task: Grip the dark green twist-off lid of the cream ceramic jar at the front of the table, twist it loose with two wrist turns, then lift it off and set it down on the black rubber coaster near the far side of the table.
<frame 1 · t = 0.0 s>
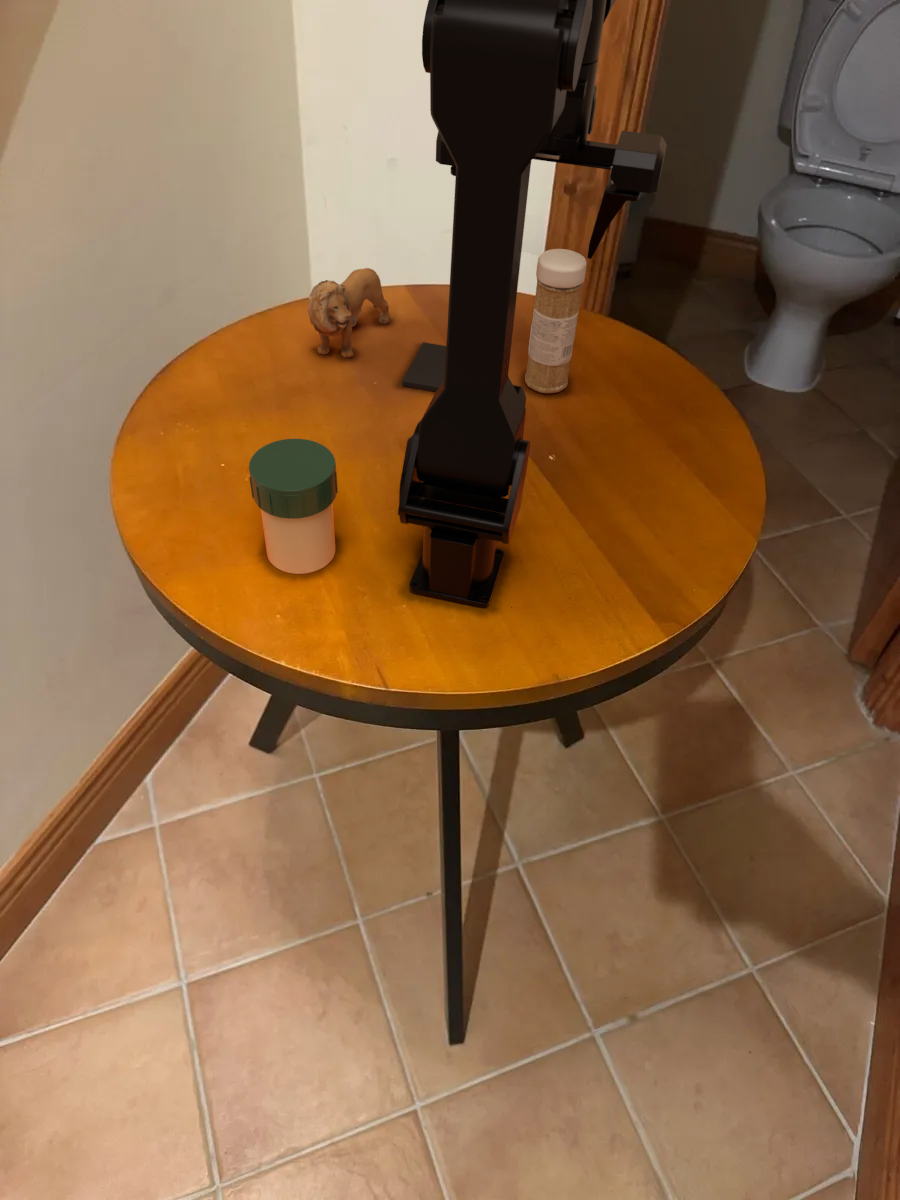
hand: (539, 249, 82), 15 cm above the table, tool pointing down, fingers open, 9 cm apart
lid: (292, 467, 68), point 8 cm above the table, screwed on, not yet turned
lion figurine: (352, 344, 98), on the table
jar: (301, 550, 74), on the table
coaster: (449, 372, 94), on the table
spice bottle: (545, 385, 94), on the table
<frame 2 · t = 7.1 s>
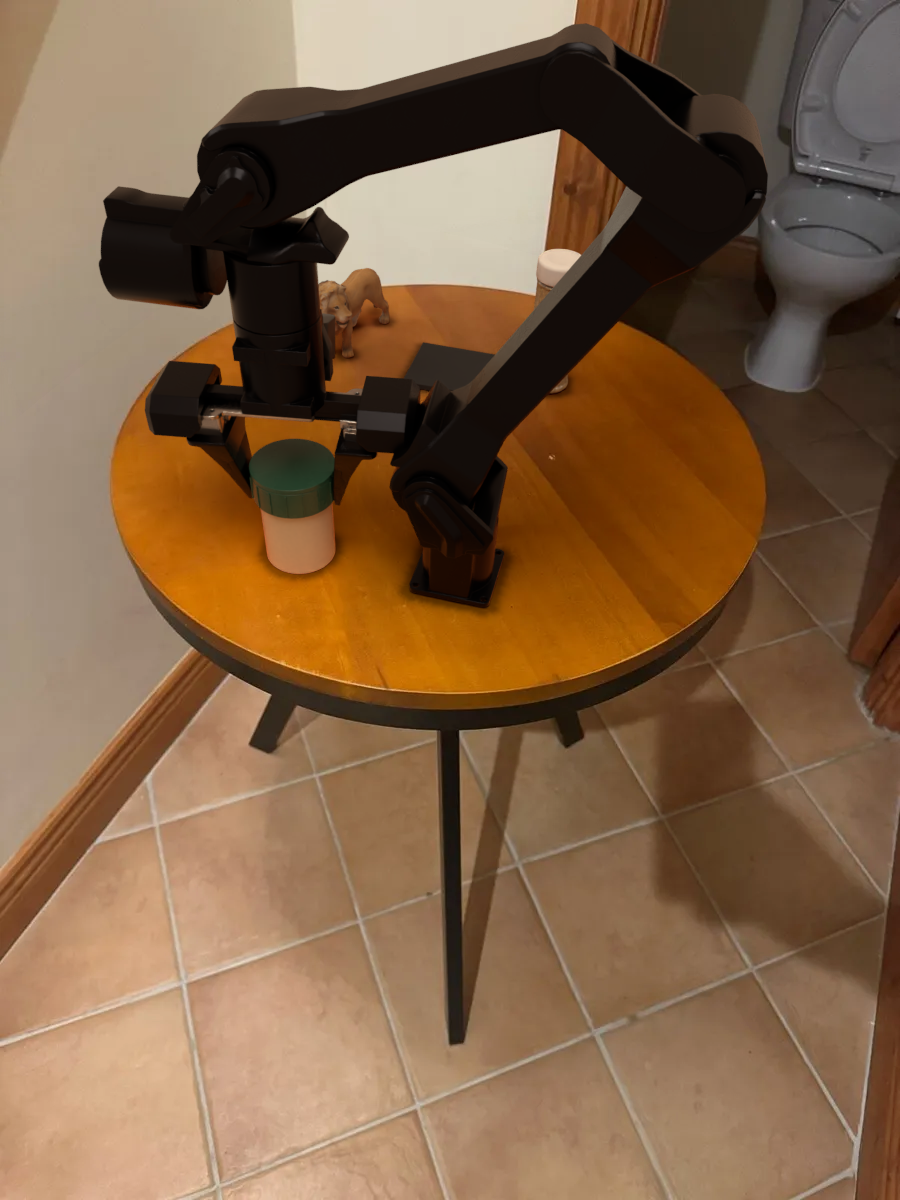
hand: (296, 498, 70), 6 cm above the table, tool pointing down, fingers closed on lid, 6 cm apart
lid: (292, 467, 68), point 8 cm above the table, screwed on, not yet turned, touching gripper
everything else where it was.
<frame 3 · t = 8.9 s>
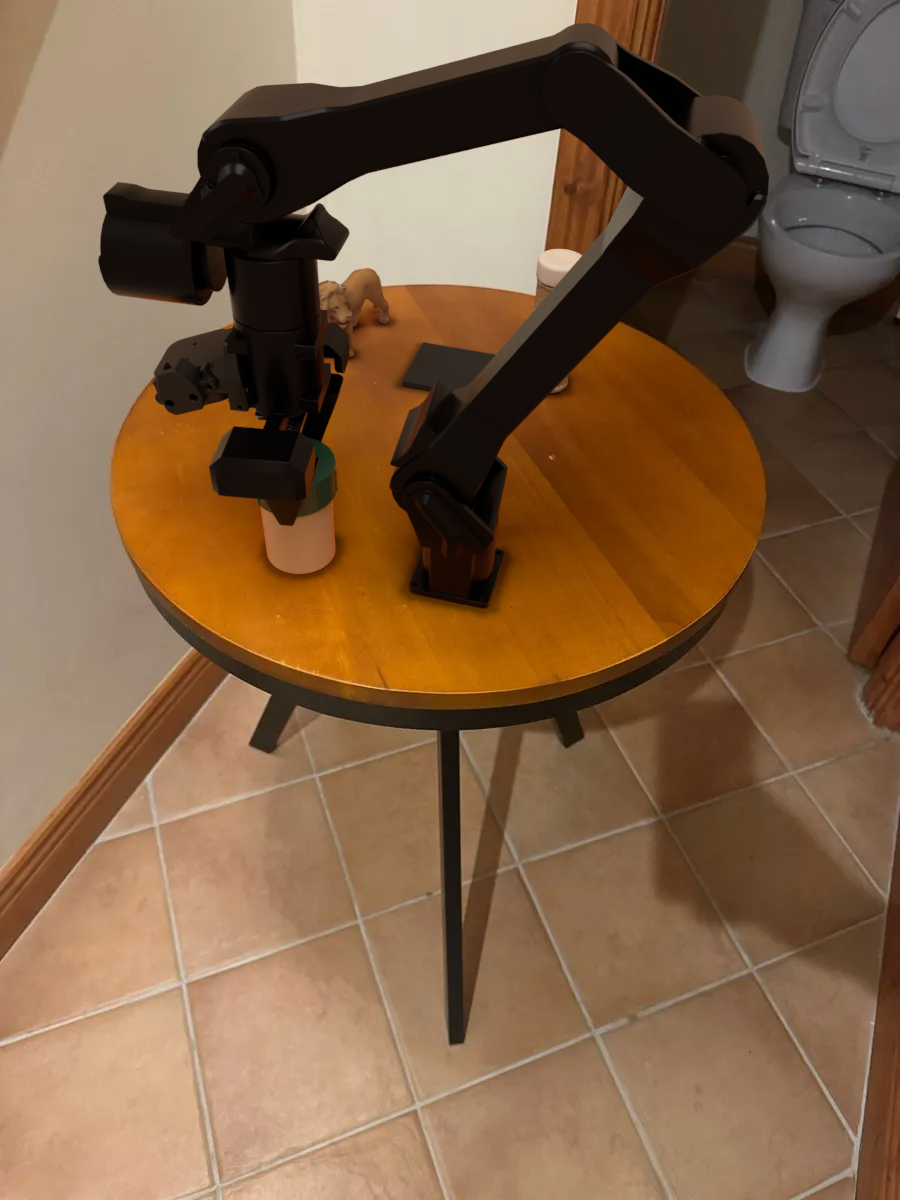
hand: (295, 495, 70), 6 cm above the table, tool pointing down, fingers closed on lid, 6 cm apart
lid: (292, 465, 68), point 9 cm above the table, turned 89° so far, risen 0.2 cm, still on its thread, touching gripper
everything else where it was.
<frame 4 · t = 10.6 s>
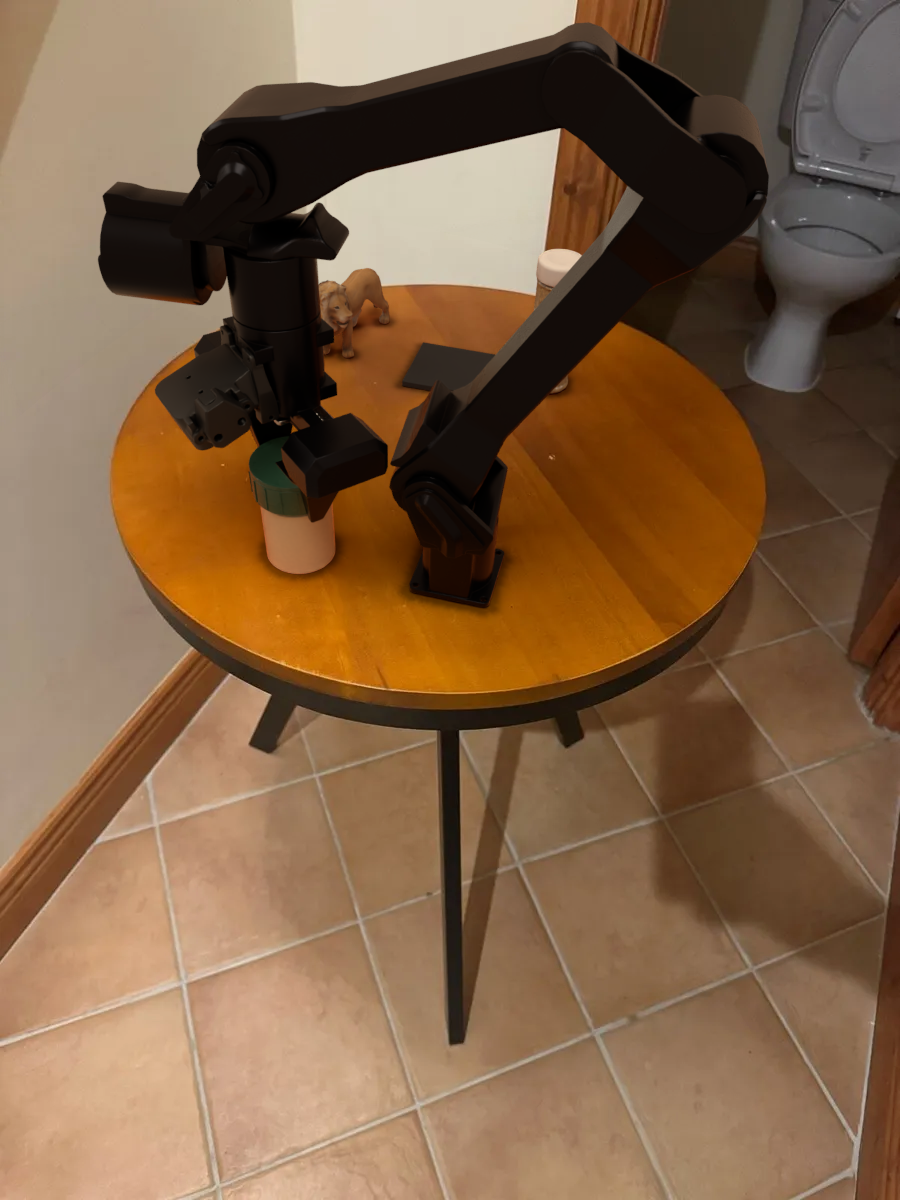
hand: (295, 495, 70), 6 cm above the table, tool pointing down, fingers closed on lid, 6 cm apart
lid: (292, 465, 68), point 9 cm above the table, off its thread, touching gripper
everything else where it was.
when the fingers open (5 cm above the table, at t = 13.8 s): lid stays where it is, resting on jar.
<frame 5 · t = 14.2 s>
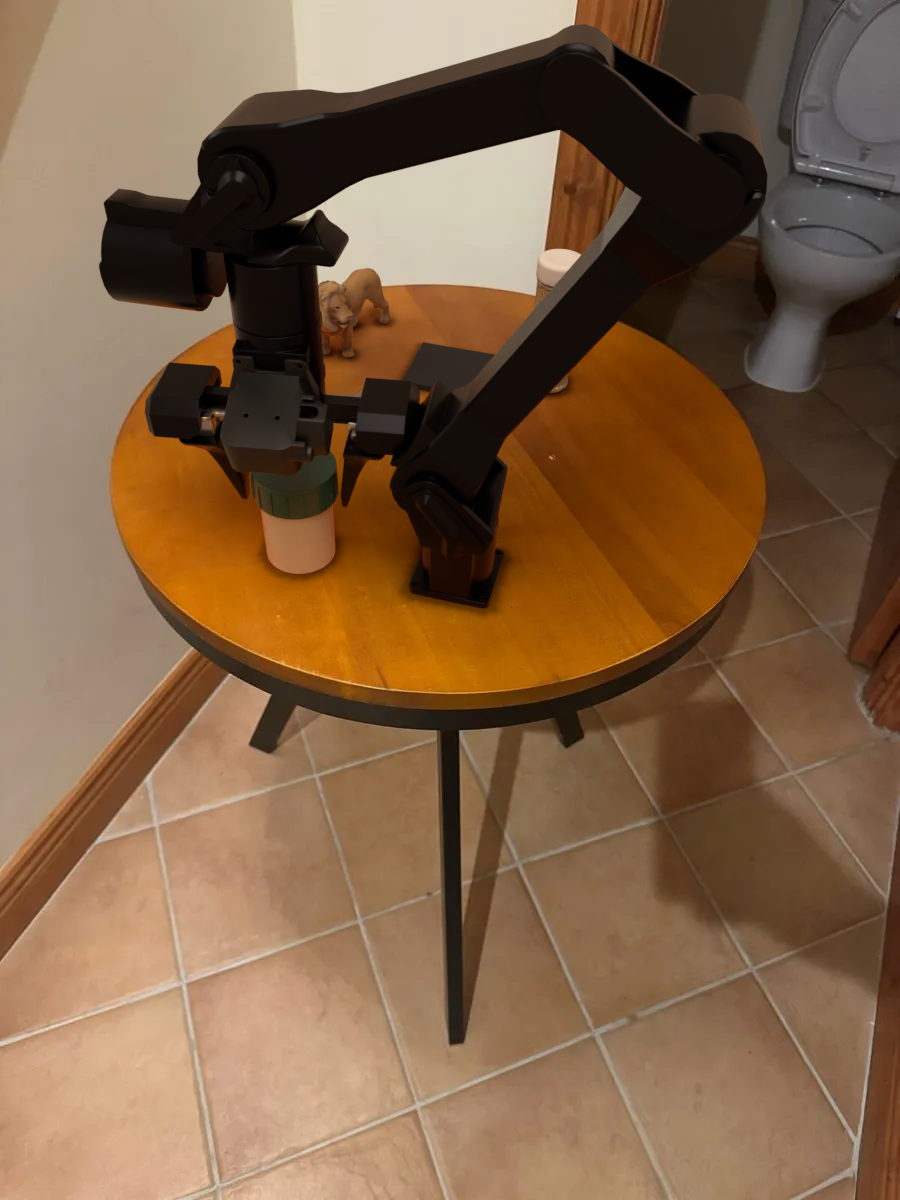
hand: (295, 499, 71), 5 cm above the table, tool pointing down, fingers open, 7 cm apart
lid: (293, 469, 68), point 8 cm above the table, off its thread, touching jar
jar: (301, 550, 74), on the table, touching lid
everything else where it was.
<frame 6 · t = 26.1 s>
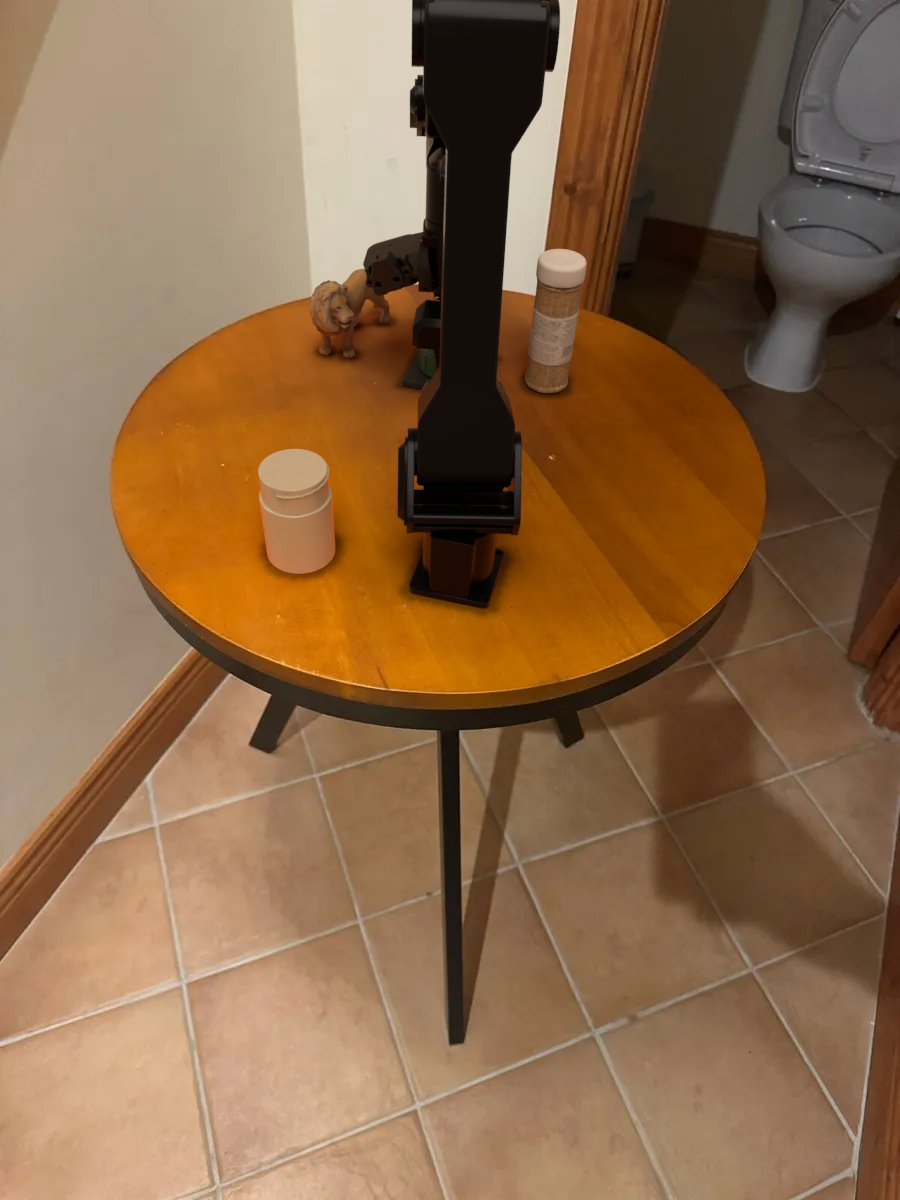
hand: (449, 366, 94), 1 cm above the table, tool pointing down, fingers closed on lid, 6 cm apart
lid: (449, 344, 92), point 3 cm above the table, off its thread, touching gripper
jar: (301, 550, 74), on the table
everything else where it was.
when the fingers open (2 cm above the table, at t = 37.0 s): lid drops 2 cm, resting on coaster.
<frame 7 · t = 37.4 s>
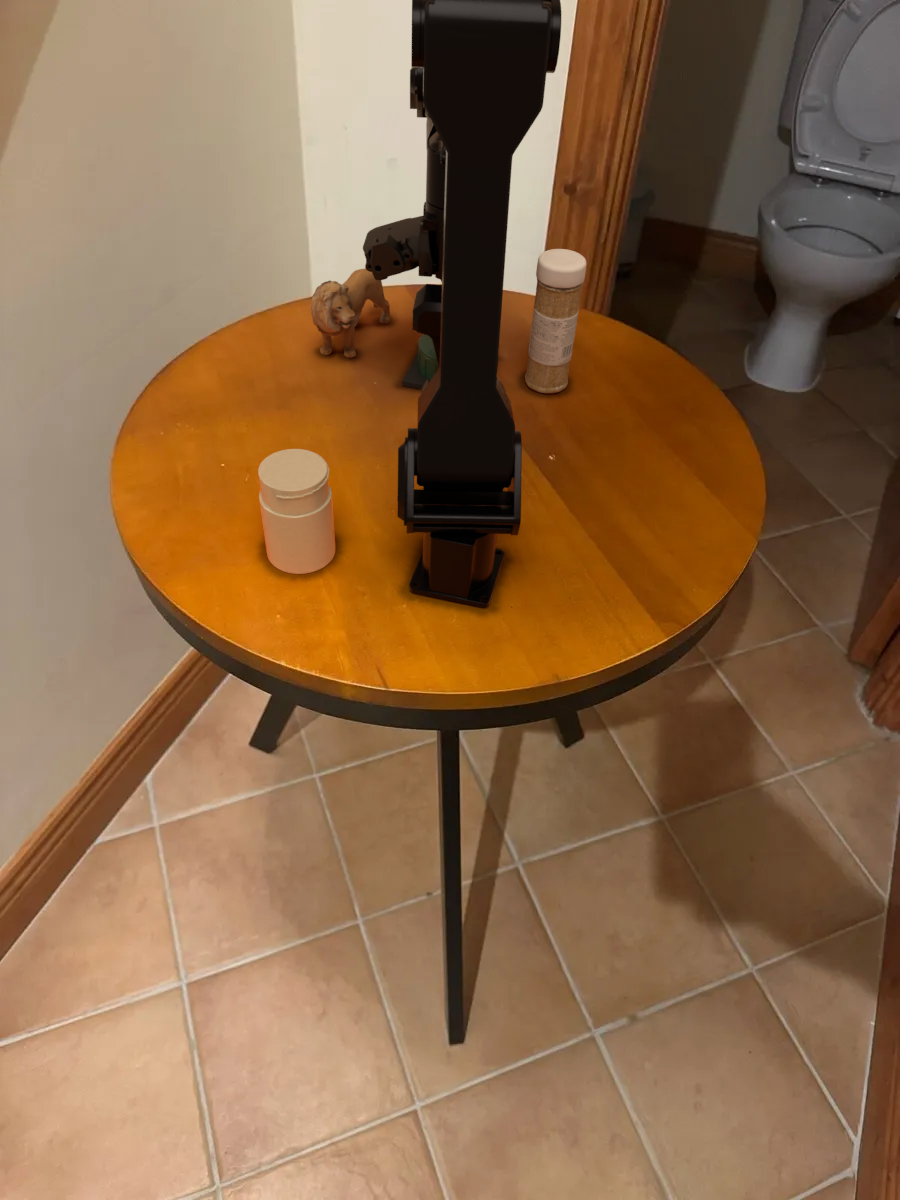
hand: (450, 353, 93), 2 cm above the table, tool pointing down, fingers open, 9 cm apart
lid: (449, 347, 92), point 3 cm above the table, off its thread, touching coaster
everything else where it was.
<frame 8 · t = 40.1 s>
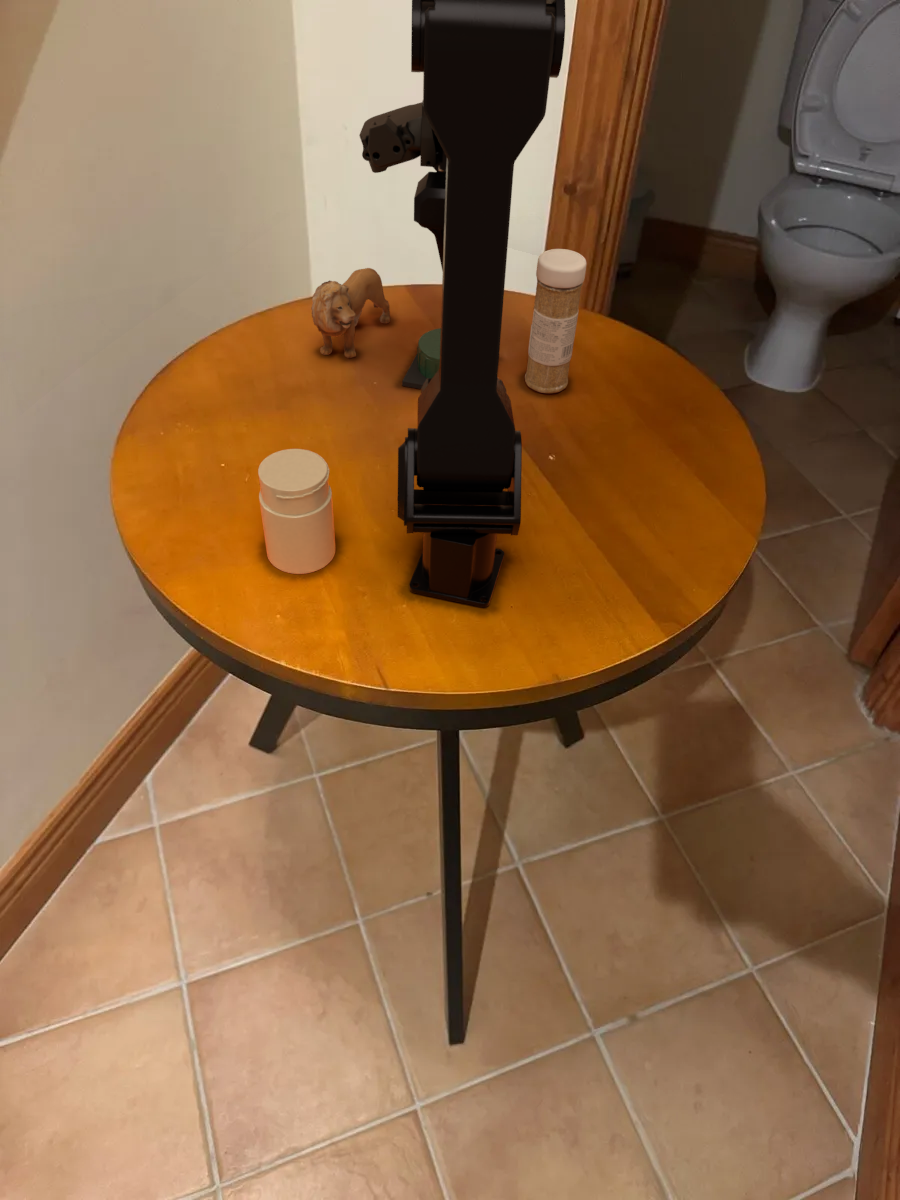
hand: (454, 261, 86), 12 cm above the table, tool pointing down, fingers open, 9 cm apart
nothing on the table moved.
at the end: lid inside the target area on the coaster (0.1 cm from its centre), point 2.9 cm above the coaster's base; lid point 2.9 cm above the table; the gripper is holding nothing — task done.
